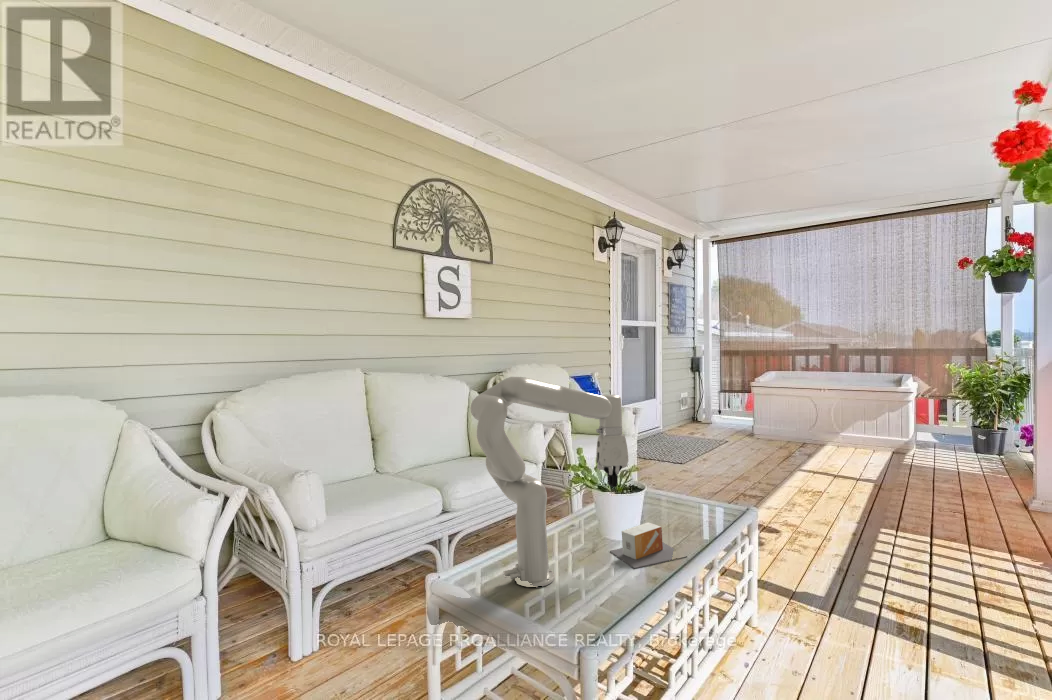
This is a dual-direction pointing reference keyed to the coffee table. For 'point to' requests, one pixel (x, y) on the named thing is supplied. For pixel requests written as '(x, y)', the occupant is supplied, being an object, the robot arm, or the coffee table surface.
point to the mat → (646, 557)
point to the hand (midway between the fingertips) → (612, 485)
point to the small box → (642, 540)
